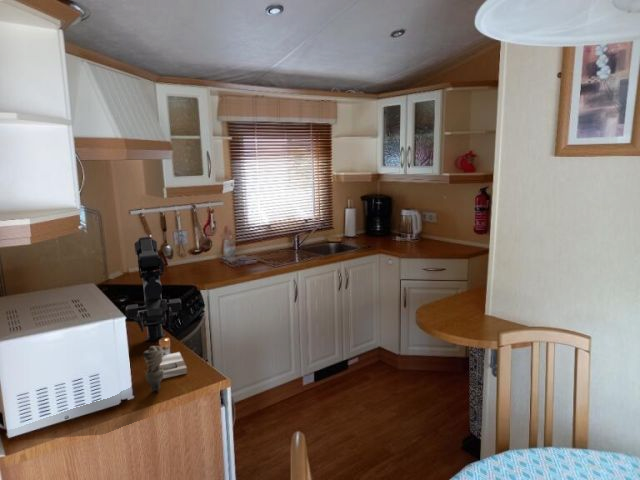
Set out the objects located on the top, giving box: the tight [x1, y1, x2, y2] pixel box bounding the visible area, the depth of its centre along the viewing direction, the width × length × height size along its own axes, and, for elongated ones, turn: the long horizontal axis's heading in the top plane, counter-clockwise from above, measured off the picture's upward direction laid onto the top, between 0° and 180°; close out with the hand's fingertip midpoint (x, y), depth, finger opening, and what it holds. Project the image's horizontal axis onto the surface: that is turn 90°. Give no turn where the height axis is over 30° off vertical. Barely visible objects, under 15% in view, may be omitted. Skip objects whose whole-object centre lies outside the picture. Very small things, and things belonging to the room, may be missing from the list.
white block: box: [160, 351, 188, 380], centre depth 159 cm, size 14×10×2 cm
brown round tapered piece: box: [158, 337, 171, 355], centre depth 168 cm, size 4×4×6 cm
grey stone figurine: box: [142, 345, 163, 392], centre depth 142 cm, size 6×6×15 cm
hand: (156, 329), depth 164 cm, fingers open, 9 cm apart
